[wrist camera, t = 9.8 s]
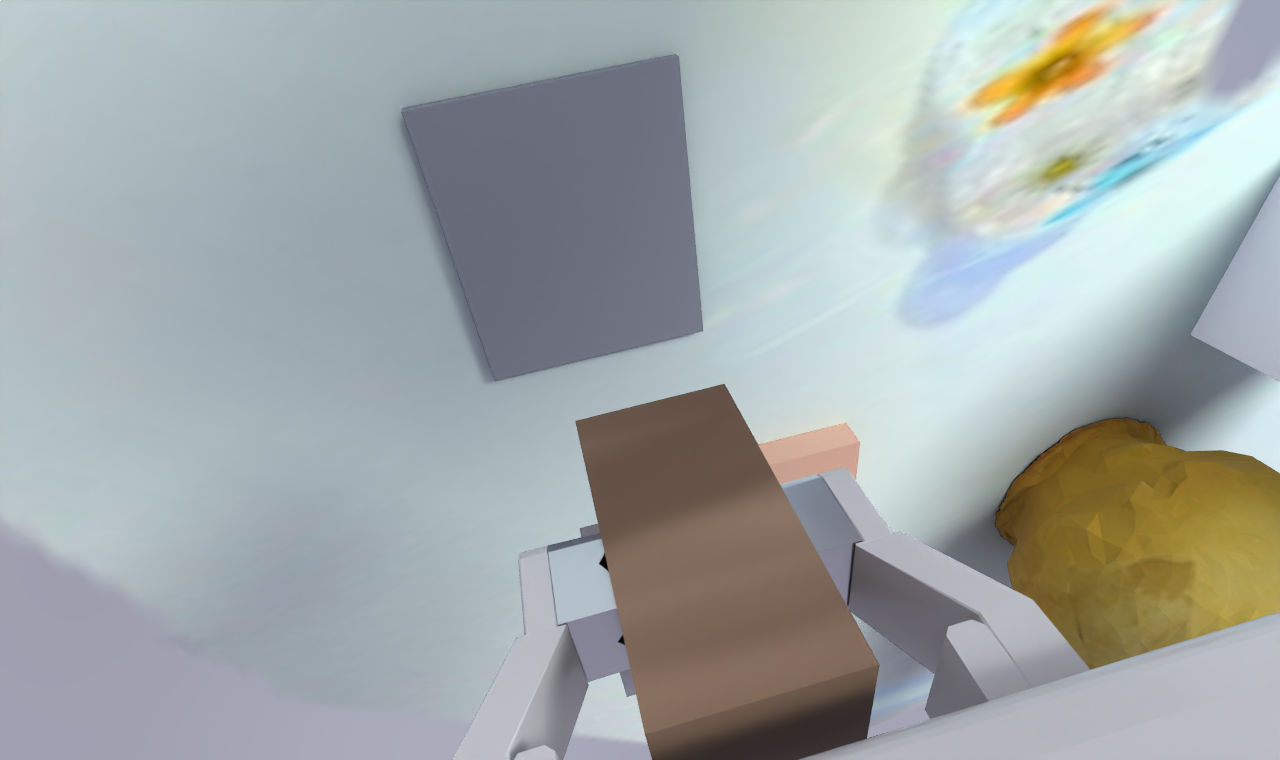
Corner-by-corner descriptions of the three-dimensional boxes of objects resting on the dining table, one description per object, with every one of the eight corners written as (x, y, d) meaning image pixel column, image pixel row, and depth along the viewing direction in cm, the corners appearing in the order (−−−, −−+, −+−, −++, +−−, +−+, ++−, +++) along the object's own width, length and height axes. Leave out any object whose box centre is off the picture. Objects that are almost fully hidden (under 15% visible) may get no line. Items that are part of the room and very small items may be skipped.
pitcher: (1255, 392, 44) (1845, 809, 25) (1085, 562, 55) (1404, 943, 36) (1054, 376, 39) (1589, 874, 20) (913, 566, 50) (1173, 1005, 31)
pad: (402, 108, 23) (401, 111, 23) (675, 54, 24) (678, 56, 23) (494, 374, 30) (494, 381, 30) (699, 325, 31) (703, 331, 31)
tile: (722, 477, 35) (729, 576, 41) (860, 441, 36) (848, 544, 42) (710, 451, 37) (718, 550, 43) (842, 418, 38) (833, 519, 43)
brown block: (550, 427, 12) (604, 746, 8) (748, 377, 13) (917, 653, 8) (621, 668, 18) (678, 942, 13) (758, 629, 18) (863, 881, 14)
